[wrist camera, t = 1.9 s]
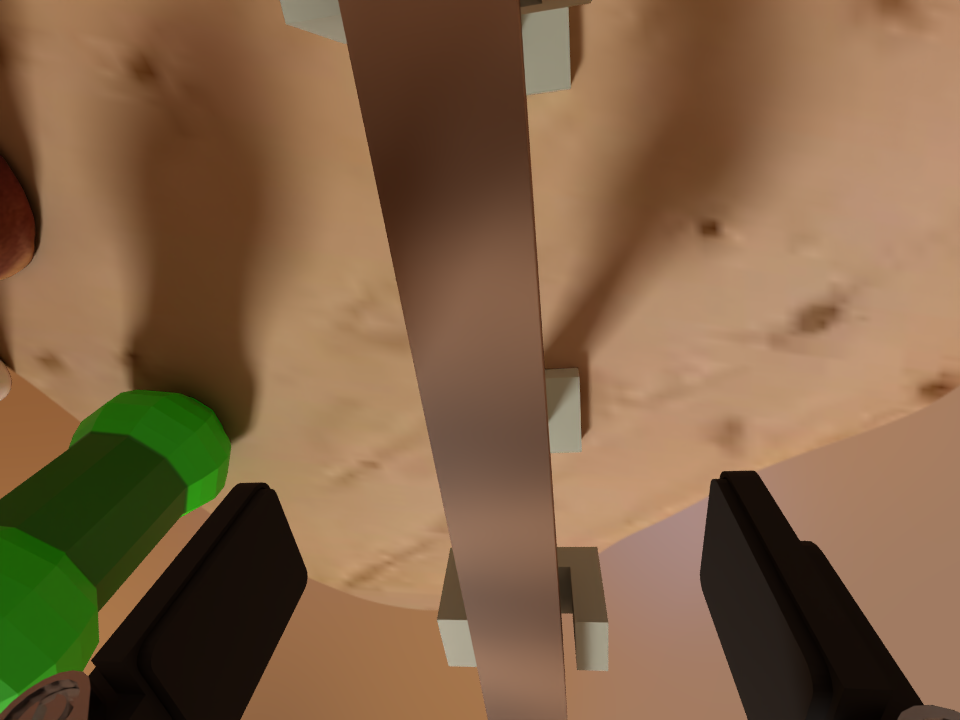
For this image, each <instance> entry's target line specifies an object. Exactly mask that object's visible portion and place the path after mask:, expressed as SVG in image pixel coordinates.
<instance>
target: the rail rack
mask: <svg viewBox="0 0 960 720" xmlns="http://www.w3.org/2000/svg"><path fill="white" fill-rule="evenodd" d="M591 1H592V0H520V8H521V23H522V38H523V53H524V68H525V83H526V95H532V94H539V93H546V92H553V91H560V90H567V89H571V75H570V42H569V8H568V7H571V6H577V5H583V4H589V3H591ZM280 3H281V7H282V11H283V15H284V18H285V22H286V24H287V25H290V26H293V27H296V28H299V29H302V30H305V31H308V32H311V33H314V34H317V35H320V36H323V37H326V38H329V39H332V40H335V41H338V42H341V43H344V44H346V43H347V41H346V36H345V31H344V27H343V22H342V17H341V12H340V7H339V3H338V0H280ZM545 380H546V395H547V410H548V425H549V440H550V453H569V452H582V446H581V412H580V379H579V371H578V368H563V369H546V370H545ZM557 559H558V574H559V589H560V604H561V613H573V624H574V637H575V648H576V649H575V650H576V663H577V670H595V671H608V618H607V611H606V604H605V597H604V590H603V583H602V577H601V570H600V563H599V556H598V549H597V547H557ZM437 622H438V626H439V630H440V633H441V637H442V641H443V645H444V649H445V653H446V657H447V661H448V665H449V666H467V667H477V664H476V660H475V655H474V650H473V645H472V640H471V636H470V631H469V626H468V621H467V616H466V612H465V607H464V602H463V597H462V592H461V588H460V583H459V578H458V573H457V569H456V564H455V559H454V554H453V549H452V548H450V553H449V558H448V564H447V569H446V574H445V580H444V585H443V590H442V596H441V601H440V606H439V612H438V617H437Z"/></svg>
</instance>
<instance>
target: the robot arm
mask: <svg viewBox="0 0 960 720" xmlns="http://www.w3.org/2000/svg"><path fill="white" fill-rule="evenodd" d="M307 577H308V576H307V570H306V567H305V565H304V562H303V559H302V557H301V554H300V552H299V549H298V547H297V544H296V542H295V539H294V537H293V534H292V532H291V529H290V527H289V524H288V521H287V519H286V516H285V514H284V511H283V509H282V506H281V504H280V501H279V499H278V496H277V494H276V492H275V490H273V489H270V487H269V486H268V485H267V484H266V483H239V484H237V485H236V486H235V487H233V489H232V490H231V491H230V492H229V493H228V495H227V496H226V497H225V498H224V500H223V501H222V502H221V503H220V504H219V506H218V507H217V508H216V509H215V510H214V512H213V513H212V514H211V515H210V517H209V518H208V519H207V520H206V521H205V523H204V524H203V525H202V526H201V527H200V529H199V530H198V531H197V532H196V534H195V535H194V536H193V537H192V538H191V540H190V541H189V542H188V543H187V545H186V546H185V547H184V548H183V549H182V551H181V552H180V553H179V554H178V556H177V557H176V558H175V559H174V561H173V562H172V563H171V564H170V565H169V567H168V568H167V569H166V570H165V571H164V573H163V574H162V575H161V576H160V577H159V579H158V580H157V581H156V582H155V583H154V585H153V586H152V587H151V588H150V589H149V591H148V592H147V593H146V595H145V596H144V597H143V598H142V599H141V600H140V602H139V603H138V604H137V605H136V606H135V608H134V609H133V610H132V612H131V613H130V614H129V615H128V616H127V617H126V619H125V620H124V621H123V622H122V624H121V625H120V626H119V627H118V629H117V630H116V631H115V632H114V633H113V634H112V636H111V637H110V638H109V640H108V641H107V642H106V643H105V644H104V645H103V647H102V648H101V649H100V650H99V652H98V653H97V654H96V655H95V656H94V658H93V659H92V660H91V661H92V662H93V664H94V665H95V666H96V667H95V669H94V670H93V671H92V672H91V674H90V675H89V676H87V675H86V674H85V673H84V672H81V671H75V670H71V671H66V672H61V673H58V674H55V675H53V676H50V677H48V678H46V679H44V680H42V681H40V682H39V683H37V684H35V685H34V686H32V687H30V688H29V689H27V690H26V691H25V692H23V693H22V694H21V695H20V696H18V697H17V698H16V699H15V700H13V701H12V702H11V703H10V704H9V705H8V706H7V707H6V708H5V709H4V710H3V711H2V712H1V713H0V720H240V719H241V717H242V715H243V713H244V711H245V709H246V707H247V705H248V703H249V701H250V699H251V697H252V695H253V693H254V691H255V689H256V687H257V685H258V683H259V681H260V679H261V677H262V675H263V673H264V670H265V669H266V666H267V664H268V662H269V660H270V658H271V656H272V654H273V652H274V650H275V648H276V646H277V644H278V642H279V640H280V638H281V636H282V634H283V632H284V630H285V628H286V626H287V624H288V622H289V620H290V618H291V616H292V614H293V612H294V609H295V608H296V605H297V603H298V601H299V599H300V598H301V595H302V593H303V591H304V589H305V587H306V584H307ZM700 581H701V587H702V591H703V594H704V597H705V600H706V602H707V605H708V608H709V611H710V614H711V617H712V619H713V622H714V625H715V628H716V631H717V633H718V636H719V639H720V642H721V645H722V648H723V650H724V653H725V656H726V659H727V661H728V665H729V667H730V670H731V673H732V676H733V679H734V682H735V684H736V687H737V690H738V693H739V696H740V698H741V701H742V704H743V707H744V710H745V713H746V715H747V718H748V720H960V713H959V712H957V711H955V710H951V709H947V708H942V707H938V706H934V705H924V704H923V703H922V701H921V700H920V698H919V697H918V695H917V694H916V692H915V691H914V689H913V688H912V686H911V685H910V683H909V682H908V680H907V679H906V677H905V676H904V674H903V673H902V671H901V670H900V668H899V667H898V665H897V664H896V662H895V661H894V659H893V658H892V656H891V655H890V653H889V651H888V650H887V648H886V647H885V646H884V644H883V642H882V641H881V639H880V638H879V636H878V635H877V633H876V632H875V631H874V629H873V627H872V626H871V625H870V623H869V621H868V620H867V618H866V617H865V615H864V614H863V612H862V611H861V609H860V608H859V606H858V605H857V603H856V602H855V601H854V599H853V597H852V596H851V594H850V593H849V591H848V590H847V588H846V587H845V585H844V584H843V582H842V581H841V579H840V578H839V576H838V575H837V573H836V572H835V570H834V569H833V567H832V566H831V564H830V563H829V561H828V560H827V558H826V557H825V555H824V554H823V552H822V551H821V550H820V549H819V547H818V546H817V545H816V544H814V543H812V542H811V541H800V540H799V539H798V537H797V535H796V534H795V532H794V531H793V529H792V527H791V526H790V524H789V523H788V521H787V519H786V518H785V516H784V515H783V513H782V512H781V510H780V508H779V507H778V505H777V504H776V502H775V500H774V499H773V497H772V496H771V494H770V492H769V491H768V489H767V488H766V486H765V485H764V483H763V481H762V480H761V478H760V476H759V475H758V474H757V473H756V472H755V471H724V472H722V473H721V475H720V479H712V481H711V484H710V493H709V501H708V510H707V518H706V526H705V536H704V544H703V552H702V561H701V570H700Z"/></svg>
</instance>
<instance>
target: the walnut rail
mask: <svg viewBox="0 0 960 720" xmlns="http://www.w3.org/2000/svg"><path fill="white" fill-rule="evenodd" d="M338 3H339V7H340V12H341V17H342V22H343V27H344V31H345V36H346V41H347V46H348V51H349V55H350V60H351V65H352V70H353V75H354V79H355V84H356V89H357V94H358V99H359V103H360V108H361V113H362V118H363V122H364V127H365V132H366V137H367V142H368V146H369V151H370V156H371V161H372V166H373V170H374V175H375V180H376V185H377V190H378V194H379V199H380V204H381V209H382V214H383V218H384V223H385V228H386V233H387V238H388V242H389V247H390V252H391V257H392V262H393V266H394V271H395V276H396V281H397V286H398V290H399V295H400V300H401V305H402V310H403V314H404V319H405V324H406V329H407V334H408V338H409V343H410V348H411V353H412V357H413V362H414V367H415V372H416V377H417V381H418V386H419V391H420V396H421V401H422V405H423V410H424V415H425V420H426V425H427V429H428V434H429V439H430V444H431V449H432V453H433V458H434V463H435V468H436V473H437V477H438V482H439V487H440V492H441V497H442V501H443V506H444V511H445V516H446V521H447V525H448V530H449V535H450V540H451V545H452V549H453V554H454V559H455V564H456V569H457V573H458V578H459V583H460V588H461V592H462V597H463V602H464V607H465V612H466V616H467V621H468V626H469V631H470V636H471V640H472V645H473V650H474V655H475V660H476V664H477V669H478V674H479V679H480V684H481V688H482V693H483V698H484V703H485V708H486V712H487V717H488V720H567V705H566V689H565V688H566V687H565V669H564V652H563V634H562V620H561V619H562V618H561V604H560V589H559V574H558V559H557V544H556V529H555V514H554V499H553V485H552V470H551V455H550V440H549V425H548V410H547V395H546V380H545V365H544V351H543V336H542V321H541V306H540V291H539V276H538V261H537V246H536V232H535V217H534V202H533V187H532V172H531V157H530V142H529V127H528V112H527V98H526V83H525V68H524V53H523V38H522V23H521V8H520V0H338Z"/></svg>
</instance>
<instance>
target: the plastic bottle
mask: <svg viewBox="0 0 960 720" xmlns="http://www.w3.org/2000/svg"><path fill="white" fill-rule="evenodd" d="M230 451H231V444H230V440H229V438H228V436H227V435H226V433H225V432H224V430H223V426H222V424H221V423H220V421H219V419H218V418H217V416H216V415H215V413H214V411H213V410H212V409H210V408H209V407H207V406H206V405H204V404H202V403H201V402H199V401H197V400H196V399H194V398H192V397H187V396H185V395H183V394H180V393H171V392H160V391H149V390H133V391H128V392H123V393H120V394H119V395H117V396H116V397H114V398H113V399H112V400H110V401H109V402H107V403H106V404H105V405H103V406H102V407H101V408H99V409H98V410H97V411H95V412H94V413H92V414H91V415H90V416H88V417H87V418H86V419H84V420H83V421H82V422H81V423H80V425H79V427H78V428H77V430H76V432H75V433H74V435H73V438H72V441H71V443H70V446H69V449H68V450H67V451H65V452H64V453H63V454H61V455H60V456H59V457H57V458H56V459H54V460H53V461H52V462H50V463H49V464H48V465H46V466H45V467H44V468H42V469H41V470H39V471H38V472H37V473H35V474H34V475H33V476H31V477H30V478H29V479H27V480H26V481H25V482H23V483H22V484H21V485H19V486H18V487H16V488H15V489H14V490H12V491H11V492H10V493H8V494H7V495H5V496H4V497H3V498H1V499H0V713H1V712H2V711H3V710H4V709H5V708H6V707H7V706H8V705H9V704H10V703H11V702H12V701H13V700H15V699H16V698H17V697H18V696H20V695H21V694H22V693H23V692H25V691H26V690H27V689H29V688H30V687H32V686H34V685H35V684H37V683H39V682H40V681H42V680H44V679H46V678H48V677H50V676H53V675H55V674H58V673H61V672H66V671H71V670H75V671H81V672H83V670H84V668H85V667H86V665H87V663H88V661H89V659H90V658H91V656H92V654H93V652H94V650H95V648H96V647H97V645H98V643H99V629H98V612H99V610H101V608H102V607H103V606H104V605H105V604H106V603H107V601H108V600H109V599H110V598H111V597H112V595H114V593H115V592H116V591H117V590H118V589H119V587H120V586H121V585H122V584H123V583H124V582H125V581H126V579H127V578H128V577H129V576H130V575H131V574H132V572H133V571H134V570H135V569H136V568H137V567H138V565H139V564H140V563H141V562H142V561H143V560H144V558H145V557H146V556H147V555H148V554H149V553H150V552H151V550H152V549H153V548H154V547H155V545H157V543H158V542H159V541H160V540H161V539H162V538H163V537H164V535H165V534H166V533H167V532H168V531H169V530H170V528H171V527H172V526H173V525H174V524H175V523H176V521H177V520H178V519H179V518H180V517H182V516H184V515H186V514H187V513H189V512H191V511H193V510H195V509H196V508H198V507H200V506H202V505H204V504H205V503H207V502H209V501H211V500H212V499H214V498H215V497H216V496H217V495H218V494H219V492H220V491H221V490H222V489H223V487H224V485H225V481H226V477H227V473H228V466H229V459H230Z"/></svg>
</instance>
